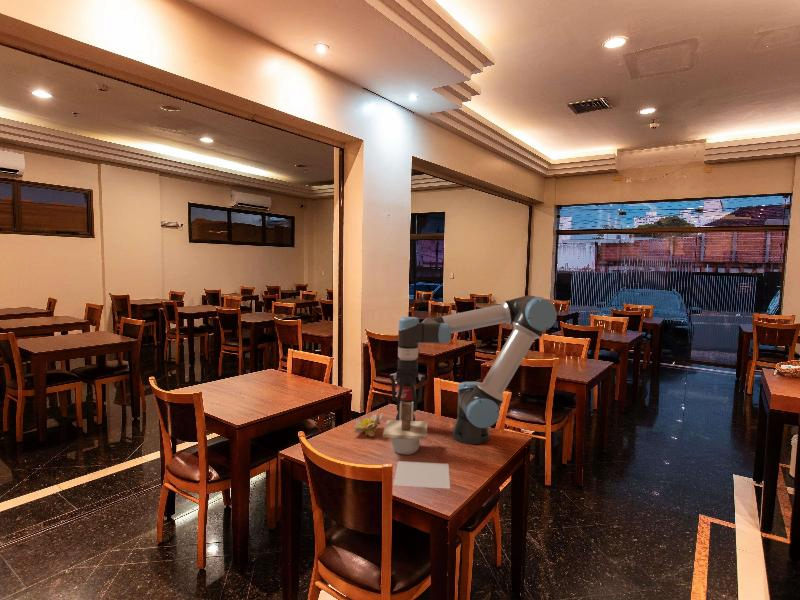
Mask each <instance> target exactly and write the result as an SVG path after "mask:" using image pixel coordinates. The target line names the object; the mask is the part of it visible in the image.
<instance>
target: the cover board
mask: <svg viewBox="0 0 800 600" xmlns="http://www.w3.org/2000/svg"><path fill="white" fill-rule="evenodd" d="M410 420H411V402H403V404H402V421H400V420H396V419H393V420H392V419H387V421H386V423H385V426H384V428H383V433H382V438H390V439H391V438H414V439H419V440H427V439H428V421H424V420H423V421H420V420H419V421H417V420H415V421H410Z"/></svg>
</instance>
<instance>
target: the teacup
mask: <svg viewBox="0 0 800 600" xmlns="http://www.w3.org/2000/svg"><path fill="white" fill-rule="evenodd" d="M390 439H391V447H392V450H393V451H394V452H395V453H397V454H399V455H404V456H408V455H413V454H415V453H416V452H417V451H418V450H419V448H420V439H414V438H391V437H390Z"/></svg>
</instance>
